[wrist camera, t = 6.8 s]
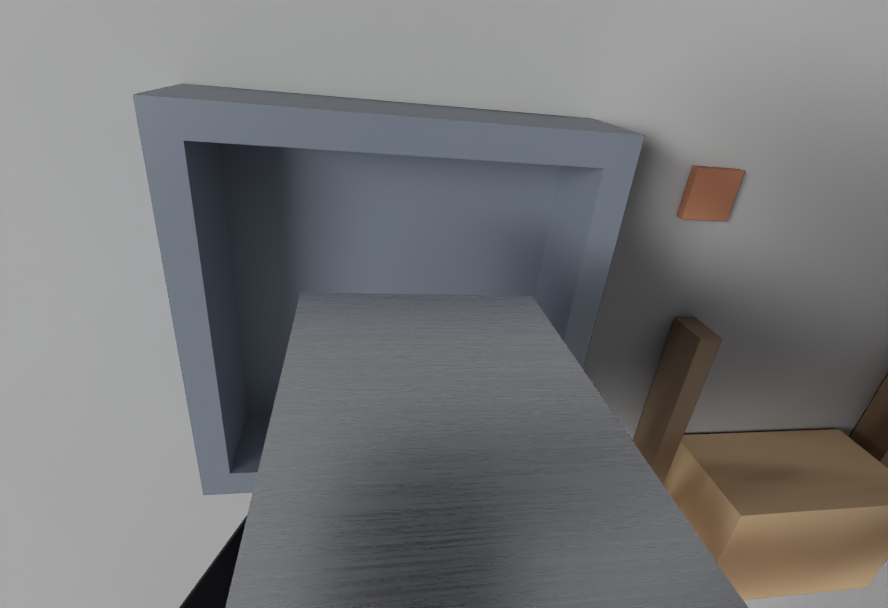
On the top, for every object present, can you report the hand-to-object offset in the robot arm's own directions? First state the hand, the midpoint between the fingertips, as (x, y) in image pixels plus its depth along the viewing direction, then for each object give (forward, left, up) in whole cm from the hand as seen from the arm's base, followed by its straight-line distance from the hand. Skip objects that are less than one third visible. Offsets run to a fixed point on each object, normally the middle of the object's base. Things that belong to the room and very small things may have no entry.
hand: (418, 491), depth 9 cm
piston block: (-9, -16, -8) cm, 20 cm away
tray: (0, 0, -8) cm, 8 cm away
